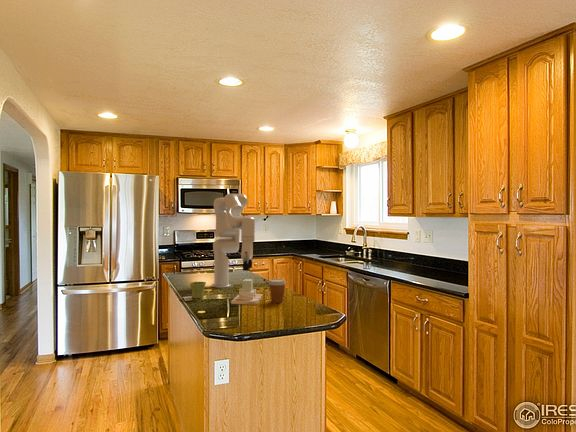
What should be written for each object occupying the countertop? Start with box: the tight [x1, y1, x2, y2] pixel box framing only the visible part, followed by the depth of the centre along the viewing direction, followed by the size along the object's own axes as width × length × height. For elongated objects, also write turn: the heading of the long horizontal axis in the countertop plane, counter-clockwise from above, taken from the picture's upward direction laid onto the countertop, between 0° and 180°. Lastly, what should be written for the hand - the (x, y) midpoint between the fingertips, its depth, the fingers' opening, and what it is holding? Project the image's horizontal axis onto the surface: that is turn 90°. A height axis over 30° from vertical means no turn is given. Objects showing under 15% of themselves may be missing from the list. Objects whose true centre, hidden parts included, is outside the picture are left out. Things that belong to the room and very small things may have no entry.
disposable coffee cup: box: [268, 278, 287, 304], centre depth 227 cm, size 10×10×12 cm
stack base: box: [230, 288, 264, 306], centre depth 230 cm, size 20×14×6 cm
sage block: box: [241, 278, 254, 292], centre depth 230 cm, size 5×5×6 cm
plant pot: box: [189, 281, 207, 299], centre depth 236 cm, size 9×9×9 cm
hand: (247, 269), depth 230 cm, fingers open, 9 cm apart
